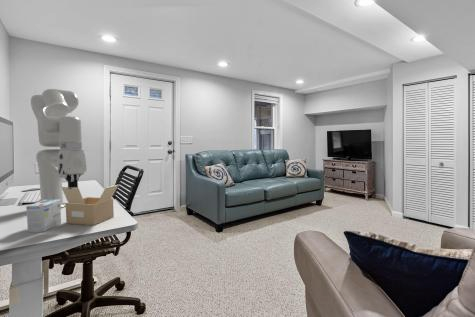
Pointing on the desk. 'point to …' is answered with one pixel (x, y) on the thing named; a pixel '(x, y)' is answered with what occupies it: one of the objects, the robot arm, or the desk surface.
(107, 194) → the flap
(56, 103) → the robot arm
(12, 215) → the desk surface
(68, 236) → the desk surface
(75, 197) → the flap
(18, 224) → the desk surface
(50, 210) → the light bulb box
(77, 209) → the carton
